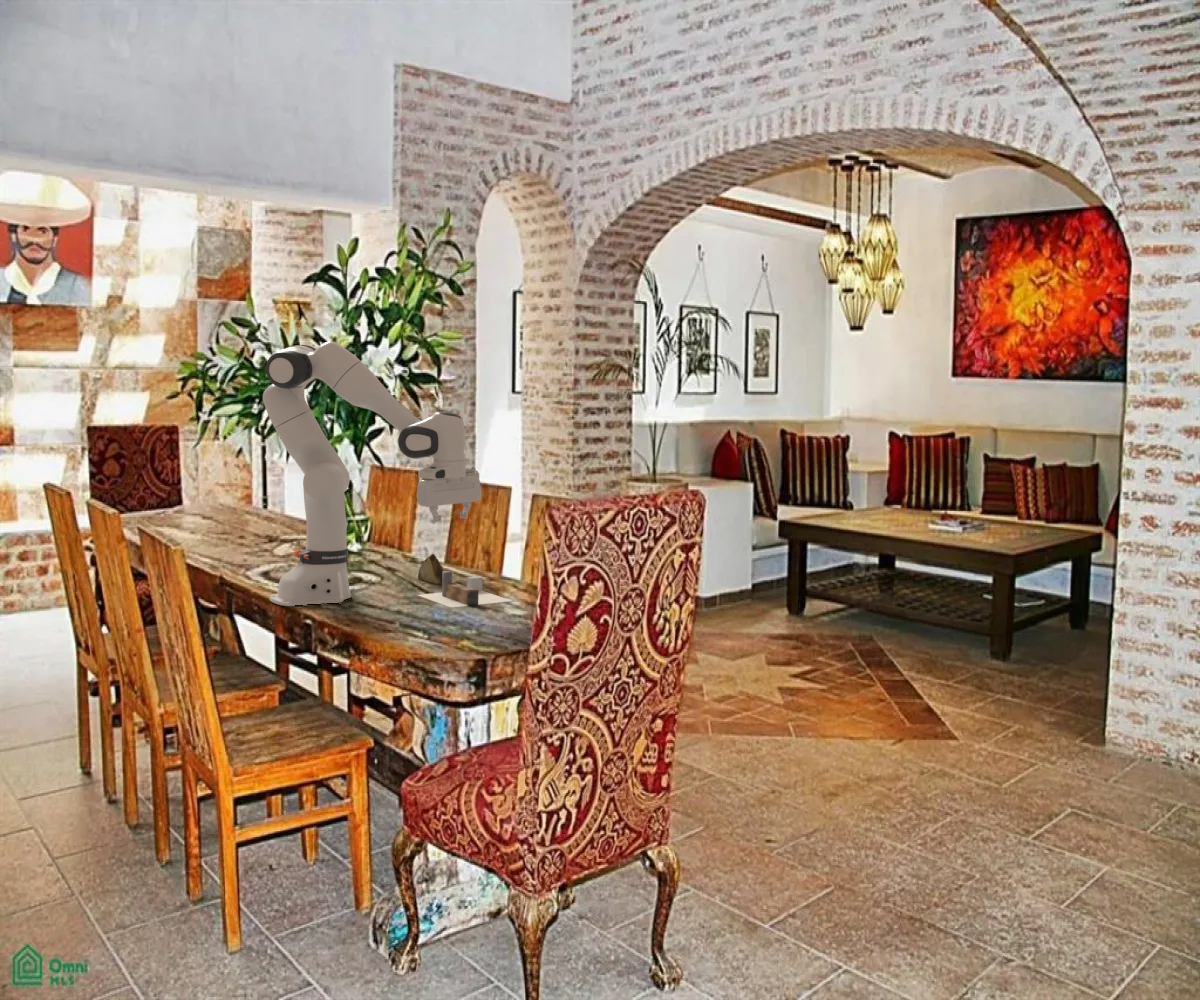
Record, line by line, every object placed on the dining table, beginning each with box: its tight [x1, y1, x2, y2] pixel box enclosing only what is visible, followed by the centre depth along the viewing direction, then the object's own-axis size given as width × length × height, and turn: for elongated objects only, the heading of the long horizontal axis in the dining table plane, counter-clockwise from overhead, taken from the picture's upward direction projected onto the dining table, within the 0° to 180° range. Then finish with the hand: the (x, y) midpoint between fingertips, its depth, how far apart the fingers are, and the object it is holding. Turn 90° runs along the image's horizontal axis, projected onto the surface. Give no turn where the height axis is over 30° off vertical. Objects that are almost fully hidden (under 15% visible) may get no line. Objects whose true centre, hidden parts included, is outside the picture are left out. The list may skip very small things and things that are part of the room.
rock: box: [417, 553, 445, 585], centre depth 347 cm, size 11×9×10 cm
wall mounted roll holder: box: [417, 570, 513, 608], centre depth 321 cm, size 20×20×8 cm
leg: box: [446, 582, 479, 607], centre depth 316 cm, size 14×3×4 cm, turn 37°
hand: (450, 520), depth 311 cm, fingers open, 8 cm apart
